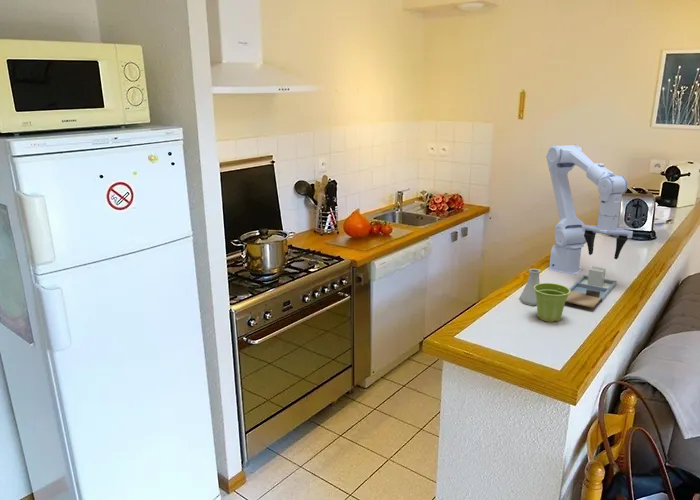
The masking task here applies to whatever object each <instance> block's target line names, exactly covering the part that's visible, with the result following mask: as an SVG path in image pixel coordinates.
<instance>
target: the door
mask: <svg viewBox="0 0 700 500" xmlns="http://www.w3.org/2000/svg"><path fill="white" fill-rule="evenodd" d="M601 298H602V297H600V291H595V290H590V289H587V290H586V294H585V293H580V292H575V291H570V294H568V297H567V299H566V301H565V303H569V304H575V305H578V306H583V307H586V308H587V307H588V308H593V309H594V308H596V306H597V304H598V303H600V302H599V301H600V300H601Z"/></svg>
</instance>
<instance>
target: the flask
mask: <svg viewBox="0 0 700 500" xmlns="http://www.w3.org/2000/svg"><path fill="white" fill-rule="evenodd" d="M541 272H542V271H541V270H540V269H537V268H530V269H528V273H529V274H528V275H529V276H528V279H527V282H526V284H525V286H524V288H523V290H522V292H521V293H520V296H519V297H518V300H519V301H520V303H522V304H525V305H529V306H534V307H535V306H537V298H536V294H535V290H534V286H535V285H537V284H541V282H540V273H541Z"/></svg>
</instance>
